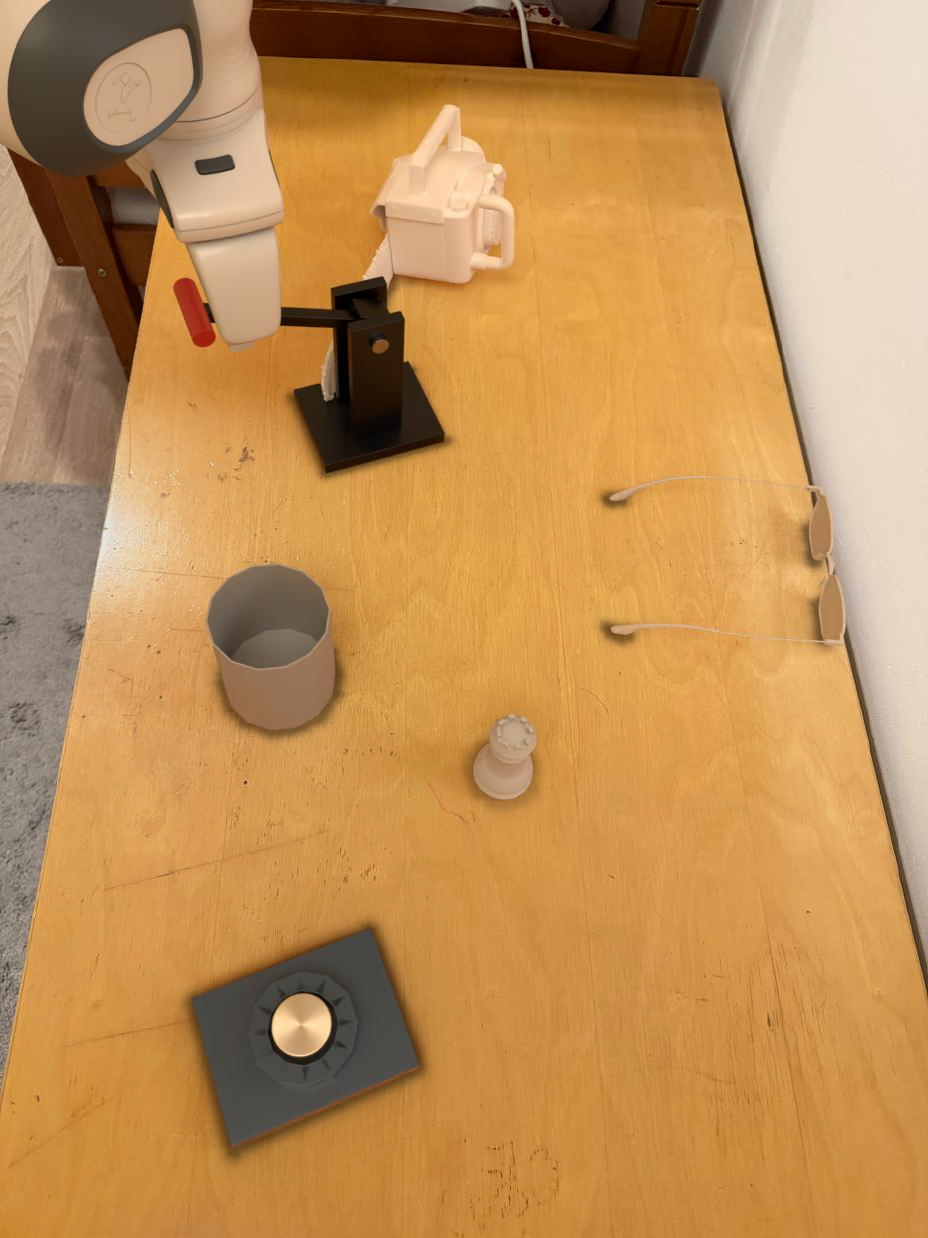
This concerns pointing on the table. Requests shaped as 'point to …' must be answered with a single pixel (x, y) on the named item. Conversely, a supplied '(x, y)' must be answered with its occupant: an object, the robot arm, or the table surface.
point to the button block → (294, 1089)
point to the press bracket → (368, 390)
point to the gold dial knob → (302, 1026)
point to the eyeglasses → (821, 548)
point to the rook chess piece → (506, 758)
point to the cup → (273, 645)
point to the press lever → (359, 309)
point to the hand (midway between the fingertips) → (221, 297)
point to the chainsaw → (439, 215)
